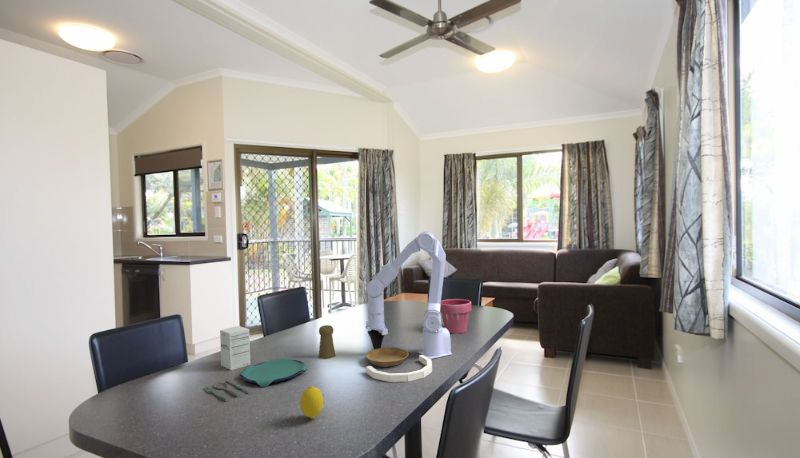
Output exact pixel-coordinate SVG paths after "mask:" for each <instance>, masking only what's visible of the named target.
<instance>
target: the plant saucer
mask: <svg viewBox="0 0 800 458" xmlns="http://www.w3.org/2000/svg"><path fill="white" fill-rule="evenodd" d="M408 356H409V352H408V351H407V350H406V349H403V348H398V347H381V348H379V349H372V350H369V351H367V353H365V358H366V359H367V360H368V361H369V362H370V363H371V364H372V365H373V366H376V367H381V368H382V367H384V368H385V367H386V368H388V367H389V368H390V367H396V366H398V365H401V364H403V362H405V360H406V359H407V358H408Z"/></svg>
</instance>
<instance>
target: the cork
mask: <svg viewBox="0 0 800 458" xmlns="http://www.w3.org/2000/svg"><path fill="white" fill-rule="evenodd" d="M318 334H319V335H320V340H319V350H318V358H319V359H321V360H327V359H333V358H335V357H336V351H335V345H334V340H333V334H334V328H333V326H332V325H322V326H320V327H319V328H318Z"/></svg>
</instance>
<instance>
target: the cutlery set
mask: <svg viewBox="0 0 800 458" xmlns="http://www.w3.org/2000/svg"><path fill="white" fill-rule="evenodd" d="M307 368H308V365H307V364H306V363H305V362H303V361H301V360H297V359H292V358H289V357H287V358H284V357H283V358H281V357H280V358H274V359H270V360H267V361H263V362H259V363H256V364H253V365H250V366H248V367H247V366H246V367H245V368H244V369H243V371H241V372H240V374H239V376H240V377H241V379H242V380H243V381H244V382H247V383H250V384H251V383H252V384H257V385H258V386H260V387H261V388H267V387H268V386H269V385H270V384H271V383H277V382H283V381H285V380H290V379H291V378H294V377H297V376H299V375H300V374H301V373H302V372H303V373H305V372H306V370H307ZM225 382H226V383H225ZM225 382H217V383H214V384H213V388H210V387H209V386H207V387H205V388H202V390H204V392H206V393H207V394H213V395H214V396H216V397H217V398H218V399H220V400H222V401H224V402H228V400H229V398H228V397H227V396H225V395H222V394H219V393H218V392H217V391H216V390H224V391H227V392H228V393H229V392H230V393H231V394H232V395H234V396H236V397H239V396H240V395H241V393H240V392H237V391H235V390H233V389H229V388H227V387H228V384H230V385H232V386H234V387H235V388H236V389H238V390H239V389H241V390H242V391H244V392H246V393H247V394H248V395H250V394H251V390H248V389H246V388H244V387H243V385H240V384H237V382H234V381H232V380H230V379H226V380H225ZM227 383H228V384H227ZM217 386H225V387H217Z"/></svg>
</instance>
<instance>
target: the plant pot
mask: <svg viewBox="0 0 800 458" xmlns="http://www.w3.org/2000/svg"><path fill="white" fill-rule="evenodd" d="M470 312H472V301H471V300H469V299H462V298H453V299H450V298H449V299H443V300H442V299H441V304H440V314H441V320H442V324H443V328H446V329H447V330H448V331H449V333H450V334H454V335H456V334H459V333H460V334H465V333H466V332H467V330H468V325H469V319H470V314H471V313H470ZM460 334H459V335H460Z"/></svg>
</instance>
